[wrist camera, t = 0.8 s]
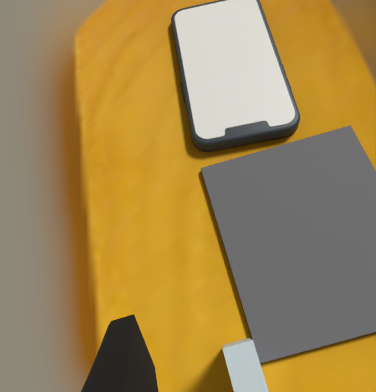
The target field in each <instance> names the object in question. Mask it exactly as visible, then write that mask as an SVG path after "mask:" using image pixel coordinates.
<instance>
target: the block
mask: <svg viewBox="0 0 376 392" xmlns="http://www.w3.org/2000/svg"><path fill="white" fill-rule="evenodd" d="M222 349H223V353H224V357H225V360H226V364H227V368H228V372H229V375H230V379H231V383H232V387H233V390H234V392H269V391H268V388H267V385H266V381H265V378H264V375H263V372H262V368H261V365H260V362H259V358H258V355H257V352H256V348H255V345H254V342H253V340H252V339H250V338H247V339H244V340H240V341H236V342H233V343H229V344H226V345H224V347H223V348H222Z"/></svg>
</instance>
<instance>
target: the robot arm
mask: <svg viewBox="0 0 376 392" xmlns="http://www.w3.org/2000/svg"><path fill="white" fill-rule="evenodd" d="M81 392H158V386H157V379H156V372H155V367H154V364H153V361H152V359H151V356H150V354H149V351H148V349H147V346H146V344H145V341H144V339H143V336H142V334H141V331H140V329H139V326H138V324H137V321H136V319H135V316H134V314H133V315H130V316H127V317H123V318H120V319H117V320H113V321H111V322H110V324H109V326H108V328H107V331H106V333H105V336H104V338H103V341H102V344H101V346H100V349H99V351H98V354H97V356H96V358H95V361H94V363H93V366H92V368H91V371H90V373H89V375H88V377H87V380H86V382H85V384H84V386H83V389H82V391H81Z"/></svg>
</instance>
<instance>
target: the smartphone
mask: <svg viewBox="0 0 376 392" xmlns="http://www.w3.org/2000/svg"><path fill="white" fill-rule="evenodd" d="M171 23H172V28H173V34H174V40H175V45H176V51H177V57H178V62H179V68H180V74H181V79H182V82H181V86H182V92H183V98H184V102H185V103H186V108H187V113H188V119H189V125H190V130H191V136H192V140H193V143H194V145H195V146H196V148H198V149H199V150H201V151H205V152H210V151H216V150H221V149H226V148H231V147H236V146H242V145H247V144H252V143H257V142H262V141H268V140H273V139H278V138H283V137H287V136H290V135H292V134H293V133H294V132H295V131H296V130H297V128H298V124H299V121H300V114H299V111H298V108H297V105H296V102H295V99H294V97H293V94H292V91H291V87H290V84H289V81H288V79H287V77H286V73H285V70H284V67H283V65H282V63H281V60H280V57H279V54H278V51H277V48H276V46H275V43H274V40H273V37H272V34H271V32H270V29H269V26H268V23H267V20H266V17H265V15H264V12H263V9H262V6H261V3H260V1H259V0H219V1H214V2H209V3H205V4H200V5H196V6H191V7H187V8H182V9H179V10H177V11H176V12H175V13H174V14H173V15H172V18H171Z"/></svg>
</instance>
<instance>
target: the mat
mask: <svg viewBox="0 0 376 392" xmlns="http://www.w3.org/2000/svg"><path fill="white" fill-rule="evenodd" d="M201 171H202V175H203V178H204V181H205V184H206V188H207V191H208V194H209V198H210V201H211V204H212V207H213V211H214V214H215V217H216V221H217V224H218V227H219V231H220V234H221V237H222V240H223V244H224V247H225V250H226V254H227V257H228V260H229V264H230V267H231V270H232V273H233V277H234V280H235V283H236V287H237V290H238V293H239V297H240V300H241V303H242V306H243V310H244V313H245V316H246V320H247V323H248V326H249V330H250V333H251V336H252V339H253V342H254V345H255V348H256V352H257V355H258V358H259V362H260V363H263V362H267V361H270V360H274V359H278V358H281V357H285V356H289V355H293V354H296V353H300V352H304V351H307V350H311V349H315V348H318V347H322V346H326V345H329V344H333V343H337V342H340V341H344V340H348V339H351V338H355V337H359V336H362V335H366V334H370V333H373V332H376V171H375V169H374V168H373V166H372V164H371V162H370V160H369V159H368V157H367V155H366V153H365V151H364V149H363V148H362V146H361V144H360V142H359V140H358V139H357V137H356V135H355V133H354V131H353V129H352V128H351V126H347V127H343V128H340V129H336V130H333V131H329V132H326V133H322V134H319V135H315V136H312V137H308V138H305V139H301V140H298V141H294V142H291V143H287V144H284V145H280V146H277V147H273V148H270V149H266V150H263V151H259V152H256V153H252V154H249V155H245V156H242V157H238V158H235V159H231V160H228V161H224V162H221V163H217V164H214V165H210V166H207V167H203V168H201Z"/></svg>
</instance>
